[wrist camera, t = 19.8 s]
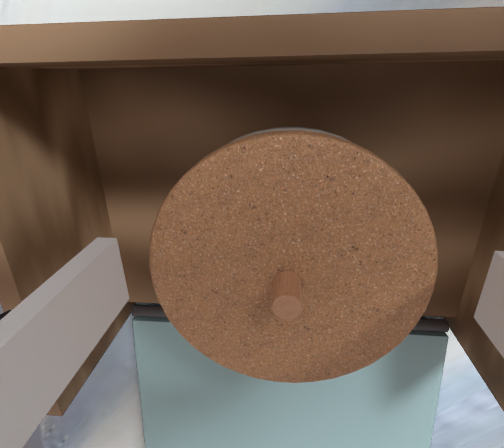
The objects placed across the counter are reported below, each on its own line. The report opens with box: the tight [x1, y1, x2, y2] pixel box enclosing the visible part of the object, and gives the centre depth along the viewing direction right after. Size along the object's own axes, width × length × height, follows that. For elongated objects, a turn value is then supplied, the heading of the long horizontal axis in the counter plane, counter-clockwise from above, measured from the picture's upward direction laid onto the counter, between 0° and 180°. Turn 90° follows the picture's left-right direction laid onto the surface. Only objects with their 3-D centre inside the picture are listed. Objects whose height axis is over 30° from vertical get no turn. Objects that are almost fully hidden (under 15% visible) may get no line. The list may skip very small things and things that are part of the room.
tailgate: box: [132, 305, 449, 448], centre depth 25 cm, size 1×21×15 cm
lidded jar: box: [149, 126, 438, 383], centre depth 15 cm, size 11×11×9 cm
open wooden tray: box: [0, 7, 504, 416], centre depth 17 cm, size 17×24×9 cm
